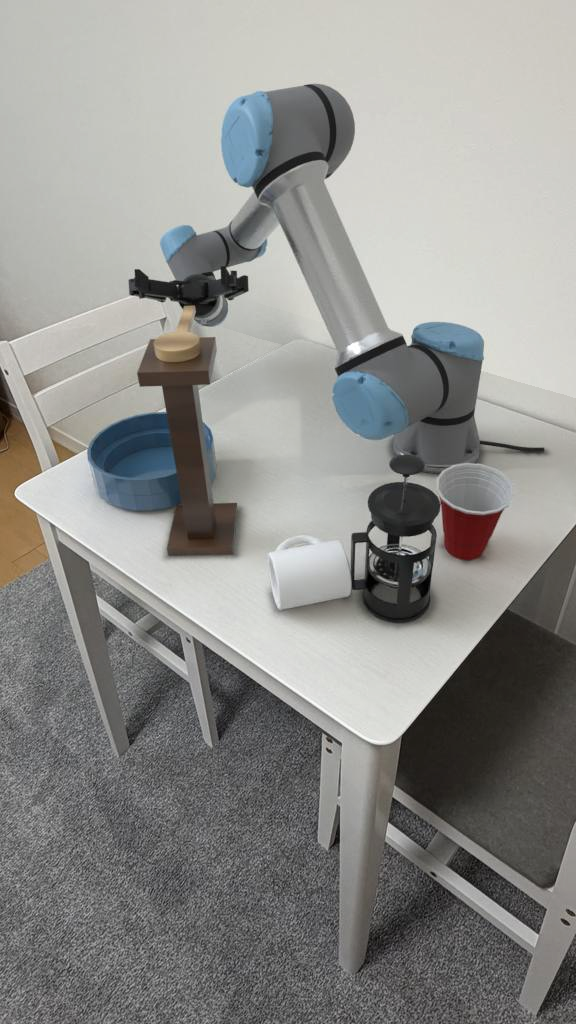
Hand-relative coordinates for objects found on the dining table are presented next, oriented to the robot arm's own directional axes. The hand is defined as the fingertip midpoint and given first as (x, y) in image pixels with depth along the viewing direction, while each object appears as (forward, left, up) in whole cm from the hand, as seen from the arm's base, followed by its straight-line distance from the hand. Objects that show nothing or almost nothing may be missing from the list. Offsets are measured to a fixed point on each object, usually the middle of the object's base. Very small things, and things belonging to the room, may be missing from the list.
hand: (180, 276), depth 108 cm
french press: (-31, +40, -32) cm, 60 cm away
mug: (-19, +37, -32) cm, 52 cm away
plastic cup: (-43, +30, -32) cm, 61 cm away
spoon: (-3, +18, -2) cm, 19 cm away
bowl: (+7, +9, -32) cm, 34 cm away
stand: (-3, +24, -32) cm, 40 cm away
